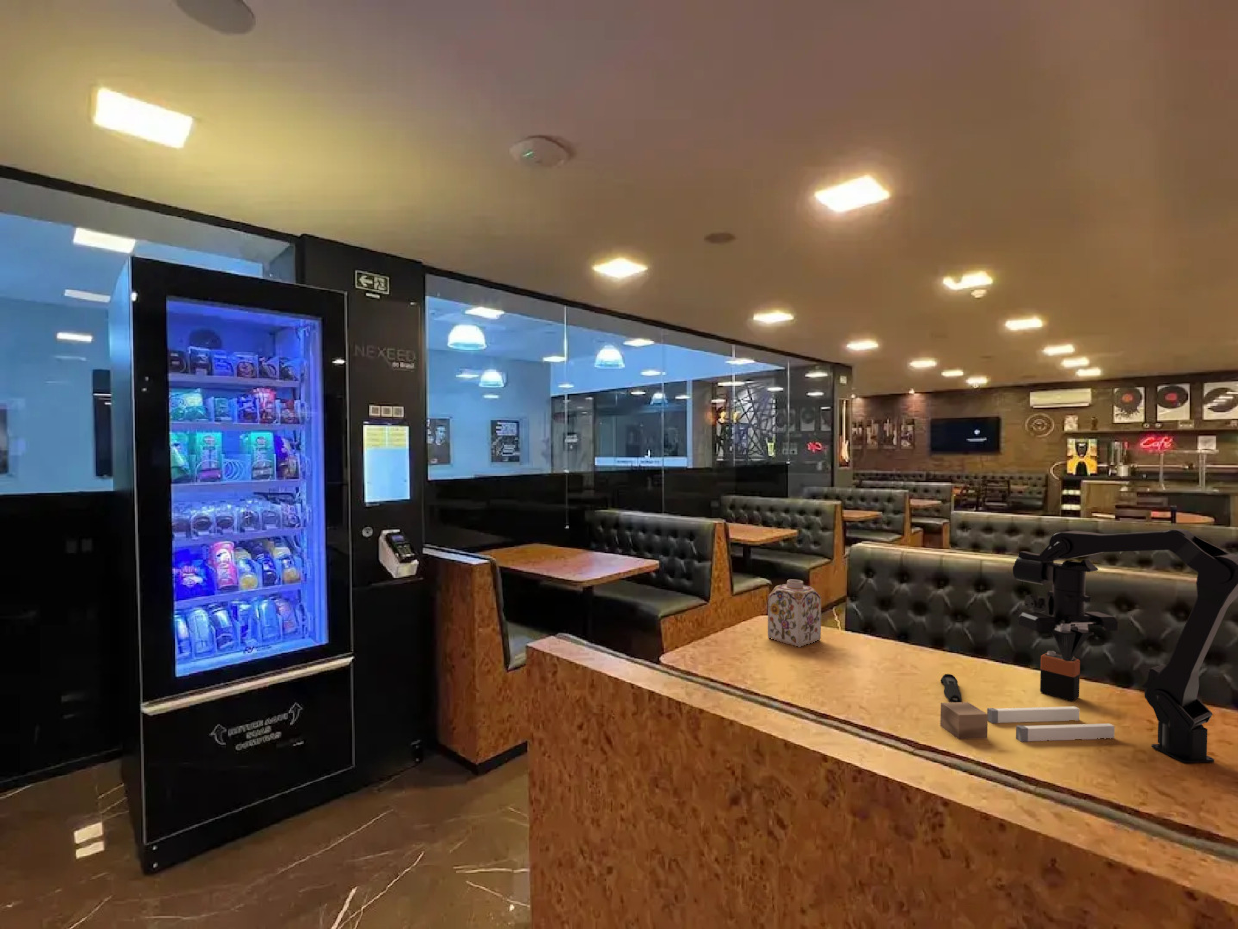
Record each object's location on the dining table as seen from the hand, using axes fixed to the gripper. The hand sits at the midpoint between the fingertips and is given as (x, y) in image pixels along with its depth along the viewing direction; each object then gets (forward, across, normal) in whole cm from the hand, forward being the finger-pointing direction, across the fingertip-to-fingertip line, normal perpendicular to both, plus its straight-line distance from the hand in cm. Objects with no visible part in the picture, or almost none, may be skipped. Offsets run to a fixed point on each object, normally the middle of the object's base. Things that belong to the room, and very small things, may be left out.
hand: (1066, 660), depth 134 cm
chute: (+12, +9, +6) cm, 16 cm away
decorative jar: (+12, +39, -57) cm, 70 cm away
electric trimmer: (+13, +17, -14) cm, 25 cm away
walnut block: (+12, +28, +6) cm, 31 cm away
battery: (+12, -8, -11) cm, 18 cm away
